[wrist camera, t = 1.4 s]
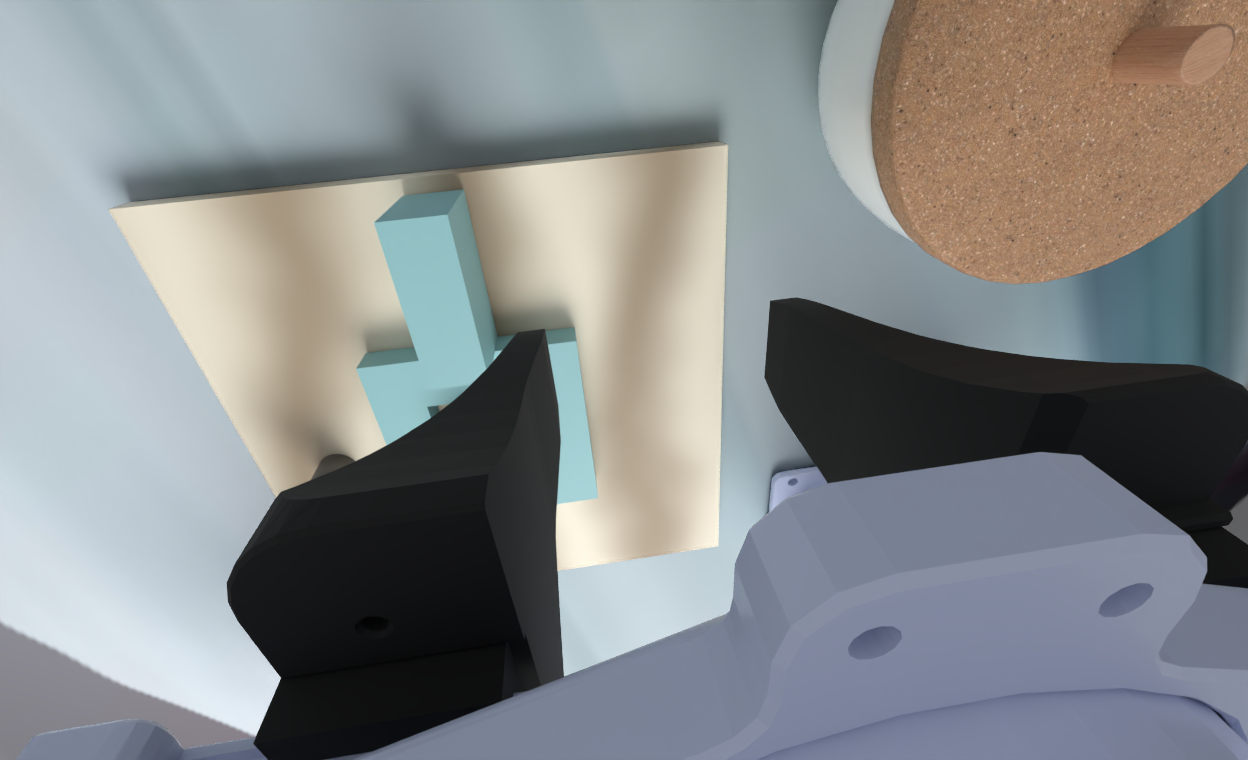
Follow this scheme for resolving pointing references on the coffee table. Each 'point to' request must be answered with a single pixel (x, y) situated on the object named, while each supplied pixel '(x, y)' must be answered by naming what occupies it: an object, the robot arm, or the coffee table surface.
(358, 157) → the coffee table surface
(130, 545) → the coffee table surface
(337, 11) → the coffee table surface
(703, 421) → the board
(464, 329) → the angular block
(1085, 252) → the lidded jar
